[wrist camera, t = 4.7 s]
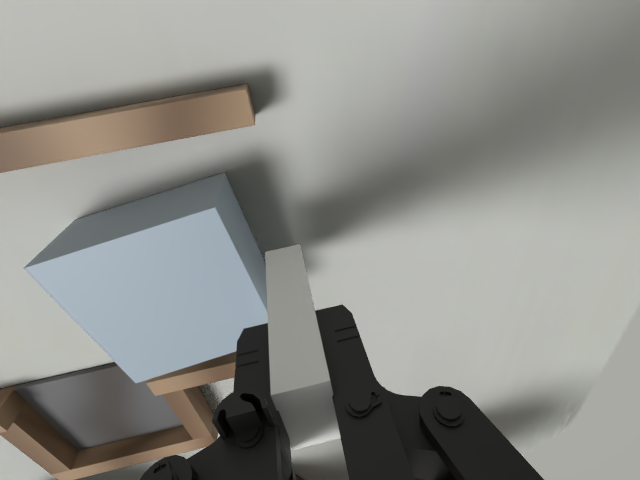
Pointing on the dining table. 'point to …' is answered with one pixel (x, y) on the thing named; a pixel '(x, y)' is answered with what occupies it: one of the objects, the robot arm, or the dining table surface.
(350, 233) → the dining table surface
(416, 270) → the dining table surface
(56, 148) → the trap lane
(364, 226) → the dining table surface
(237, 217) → the slate block
